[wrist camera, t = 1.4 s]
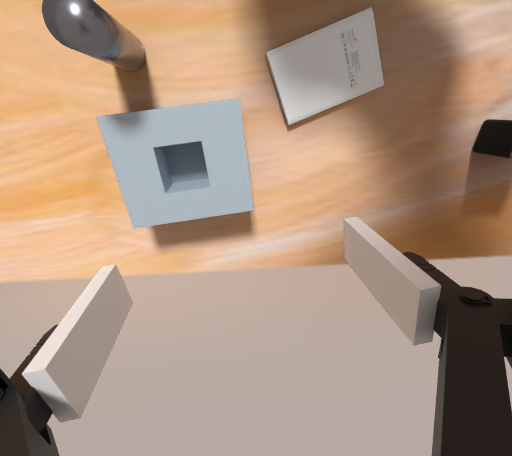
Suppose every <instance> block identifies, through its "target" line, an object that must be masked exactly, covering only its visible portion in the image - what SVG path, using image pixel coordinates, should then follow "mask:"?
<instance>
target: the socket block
mask: <svg viewBox="0 0 512 456" xmlns="http://www.w3.org/2000/svg"><path fill="white" fill-rule="evenodd" d="M96 118H97V121H98V124H99V127H100V130H101V133H102V136H103V139H104V142H105V145H106V148H107V151H108V154H109V156H110V159H111V162H112V165H113V168H114V171H115V174H116V177H117V180H118V183H119V186H120V189H121V192H122V195H123V198H124V201H125V204H126V207H127V210H128V213H129V216H130V219H131V222H132V225H133V227H134V228H141V227H147V226H154V225H161V224H167V223H174V222H180V221H187V220H193V219H200V218H207V217H213V216H220V215H226V214H233V213H240V212H246V211H253V210H254V208H253V200H252V192H251V185H250V177H249V169H248V161H247V153H246V146H245V138H244V130H243V122H242V114H241V107H240V99H231V100H223V101H215V102H208V103H200V104H192V105H184V106H176V107H168V108H160V109H152V110H145V111H137V112H129V113H121V114H113V115H105V116H97V117H96Z"/></svg>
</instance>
